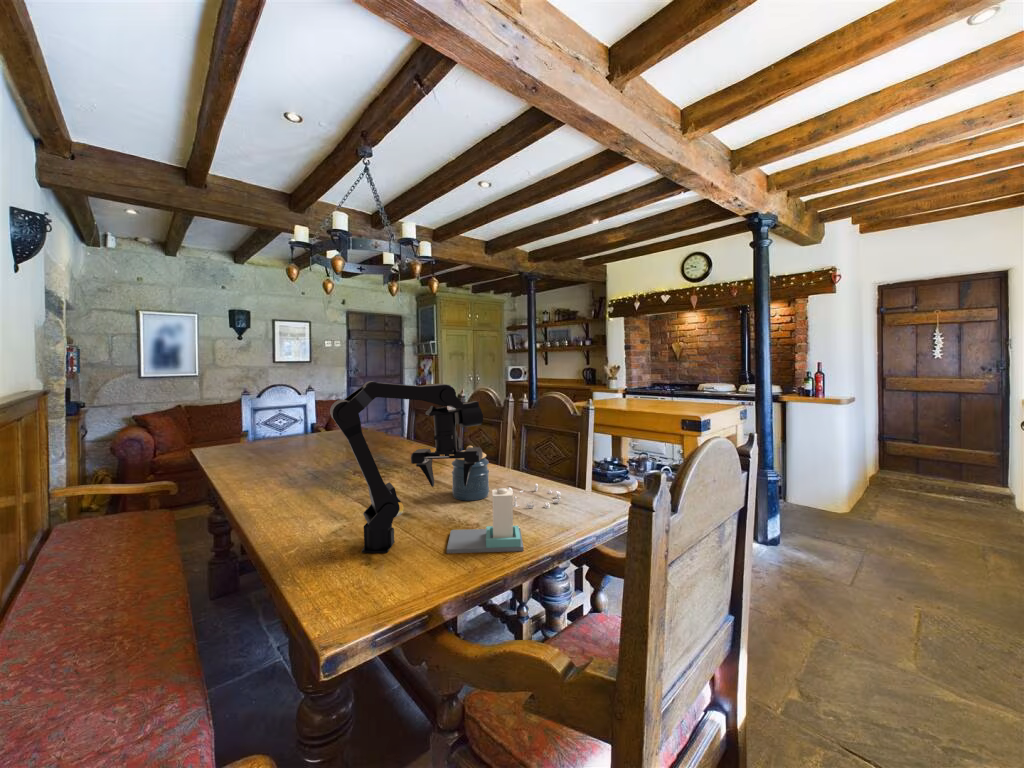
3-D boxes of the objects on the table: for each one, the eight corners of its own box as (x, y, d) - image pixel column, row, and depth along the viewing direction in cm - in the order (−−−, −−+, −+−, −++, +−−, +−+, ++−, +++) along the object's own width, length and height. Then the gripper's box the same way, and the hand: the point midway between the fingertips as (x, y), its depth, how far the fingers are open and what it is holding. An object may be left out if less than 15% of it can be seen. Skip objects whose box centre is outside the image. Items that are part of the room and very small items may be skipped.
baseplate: (446, 553, 105) (446, 541, 105) (451, 533, 117) (451, 522, 117) (523, 551, 106) (523, 539, 106) (520, 531, 118) (520, 520, 118)
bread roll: (403, 507, 139) (403, 495, 138) (403, 517, 130) (403, 504, 130) (377, 509, 137) (376, 497, 136) (374, 520, 128) (374, 507, 128)
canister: (445, 498, 146) (444, 448, 145) (463, 488, 158) (462, 441, 157) (479, 503, 141) (478, 450, 140) (495, 491, 153) (494, 443, 152)
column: (493, 544, 108) (492, 492, 107) (492, 536, 113) (492, 486, 112) (513, 543, 108) (512, 492, 107) (511, 535, 113) (511, 486, 112)
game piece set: (492, 500, 145) (492, 489, 145) (532, 488, 159) (532, 477, 159) (535, 515, 131) (535, 503, 131) (574, 499, 145) (574, 488, 145)
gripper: (484, 423, 122) (487, 476, 124) (421, 425, 125) (425, 477, 126) (476, 431, 111) (480, 489, 113) (408, 433, 114) (412, 490, 115)
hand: (449, 486), depth 117 cm, fingers open, 9 cm apart
